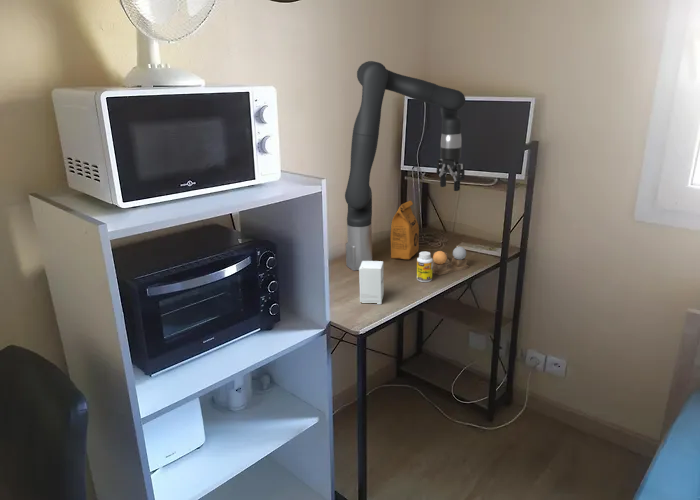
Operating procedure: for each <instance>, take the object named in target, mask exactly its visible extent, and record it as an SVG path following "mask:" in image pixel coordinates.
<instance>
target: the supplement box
mask: <svg viewBox="0 0 700 500" xmlns="http://www.w3.org/2000/svg"><path fill="white" fill-rule="evenodd" d="M358 274H359V275H358V281H359V303H360V302H362V303H377V304H376V305H382V303H383V298H384V296H385V295H384V293H385V292H384V283H385V282H384V279H385V278H384V276H385V275H384V261H383V260H382V261H381V260H380V261H379V260H372V261H362V263H361V265H360V268H359V270H358Z"/></svg>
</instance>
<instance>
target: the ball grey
mask: <svg viewBox="0 0 700 500" xmlns="http://www.w3.org/2000/svg"><path fill="white" fill-rule="evenodd" d="M452 256H453V258H455V259H457V260H462V259H464V258H465V259H466V256H467V251H466V249H465V248H464V247H463V246H456V247H455V248H454V249H453V250H452Z"/></svg>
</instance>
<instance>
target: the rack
mask: <svg viewBox="0 0 700 500" xmlns="http://www.w3.org/2000/svg"><path fill="white" fill-rule="evenodd" d="M467 261H468V260H467V259H466V257H465V258H464V259H462V260H457V259H455V258H454V257H452V259H451V263H443V264H436V263H435V262H433V267H432V274H434V275H436V276H440V275H445V274H449V273H454V272H458V271H461V270H466V269H467V270H468V269H469V265H468V264H467Z"/></svg>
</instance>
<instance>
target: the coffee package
mask: <svg viewBox="0 0 700 500" xmlns="http://www.w3.org/2000/svg"><path fill="white" fill-rule="evenodd" d="M413 204H414V203H413V201H412V200H408V201H406V202H404V203H402V204H401V205H400V206H399V207H398V209H397V211H396V212H395V214H394V215H393V218H392V220H391V226H390V258H391V259H401V260H410V259H411V258H412V257H414V256H415V255H416V254H417V253H418V252H419V249H420V247H419V237H420V235H419V234H420V231H419V230H420V228H419V223H418V220H417V218H416V216H415V215H414V213H413V211H412V207H411V206H413Z"/></svg>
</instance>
